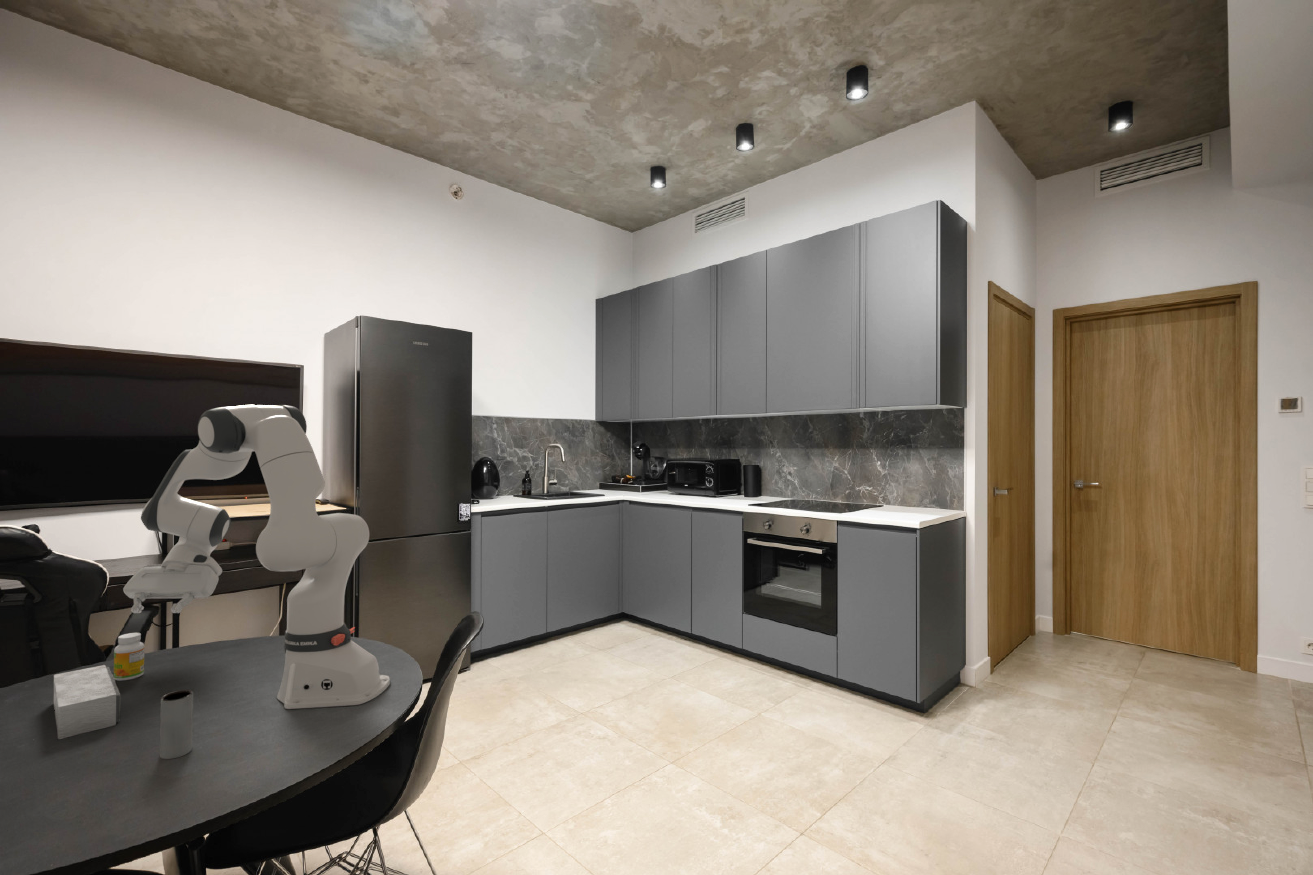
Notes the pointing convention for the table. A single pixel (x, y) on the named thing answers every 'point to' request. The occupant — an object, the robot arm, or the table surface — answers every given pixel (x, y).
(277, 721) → the table surface
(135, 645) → the supplement bottle
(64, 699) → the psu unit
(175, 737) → the planter
